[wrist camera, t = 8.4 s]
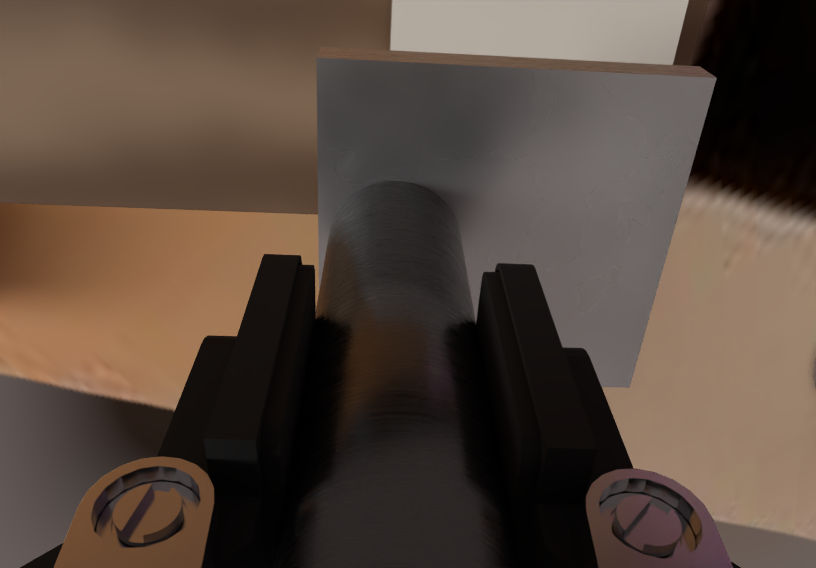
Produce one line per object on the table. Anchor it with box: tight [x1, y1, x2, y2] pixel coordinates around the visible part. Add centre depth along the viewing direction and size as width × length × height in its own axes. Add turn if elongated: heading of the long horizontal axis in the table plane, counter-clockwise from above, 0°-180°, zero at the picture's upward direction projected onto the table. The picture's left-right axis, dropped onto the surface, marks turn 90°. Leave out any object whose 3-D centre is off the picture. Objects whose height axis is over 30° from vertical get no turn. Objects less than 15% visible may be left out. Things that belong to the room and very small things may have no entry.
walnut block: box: [0, 0, 709, 214], centre depth 31 cm, size 14×28×12 cm, turn 87°
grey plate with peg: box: [272, 47, 717, 568], centre depth 10 cm, size 7×7×11 cm
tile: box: [390, 0, 689, 65], centre depth 26 cm, size 9×2×10 cm
